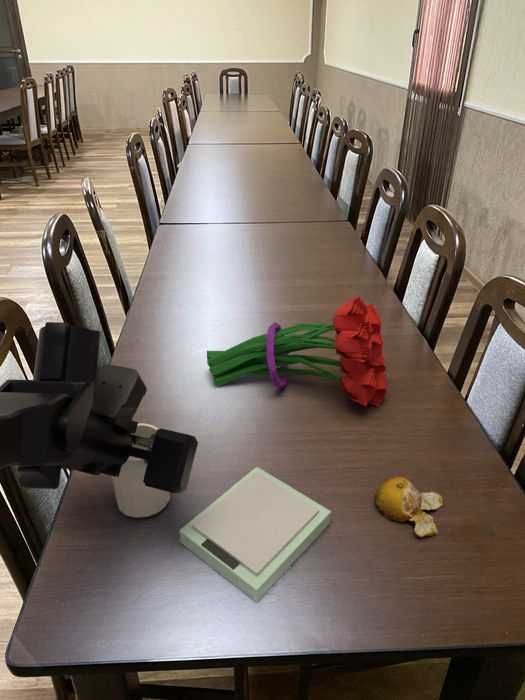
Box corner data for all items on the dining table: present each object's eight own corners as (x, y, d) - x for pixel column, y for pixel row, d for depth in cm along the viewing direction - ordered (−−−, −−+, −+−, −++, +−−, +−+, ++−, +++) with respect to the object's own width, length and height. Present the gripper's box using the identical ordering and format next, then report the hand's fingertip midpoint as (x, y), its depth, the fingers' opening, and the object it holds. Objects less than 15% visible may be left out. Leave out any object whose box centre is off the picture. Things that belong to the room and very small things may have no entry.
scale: (256, 602, 57) (256, 586, 56) (180, 542, 64) (178, 526, 63) (330, 523, 67) (331, 507, 65) (256, 478, 73) (256, 462, 72)
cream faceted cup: (140, 530, 66) (130, 469, 60) (106, 502, 69) (94, 443, 64) (181, 498, 70) (175, 439, 65) (147, 473, 74) (139, 416, 69)
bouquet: (228, 383, 103) (387, 369, 96) (206, 439, 89) (391, 428, 82) (201, 290, 94) (375, 267, 86) (172, 337, 80) (377, 314, 73)
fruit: (434, 544, 64) (440, 523, 62) (366, 522, 67) (369, 501, 65) (444, 497, 71) (449, 476, 69) (381, 478, 73) (384, 458, 71)
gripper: (184, 377, 52) (228, 403, 66) (22, 345, 56) (97, 376, 71) (153, 494, 49) (206, 494, 64) (-13, 450, 54) (72, 460, 69)
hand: (143, 452), depth 67 cm, fingers closed on cream faceted cup, 7 cm apart
